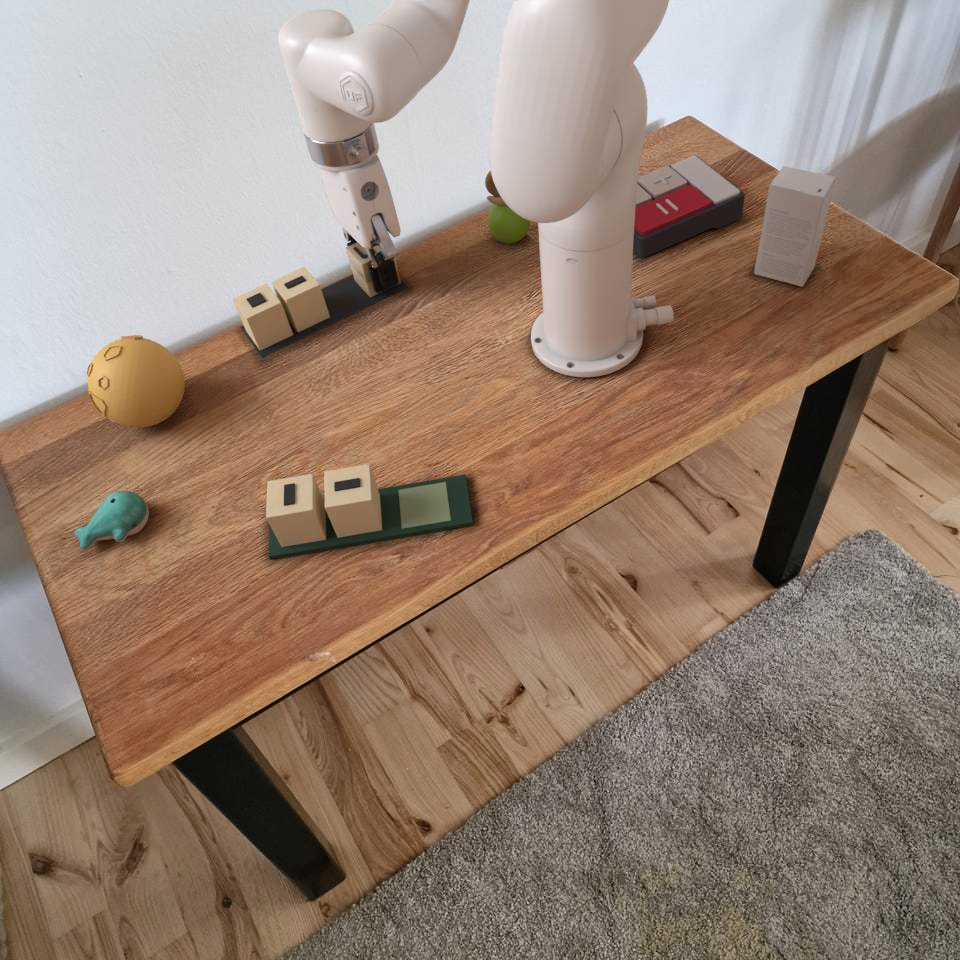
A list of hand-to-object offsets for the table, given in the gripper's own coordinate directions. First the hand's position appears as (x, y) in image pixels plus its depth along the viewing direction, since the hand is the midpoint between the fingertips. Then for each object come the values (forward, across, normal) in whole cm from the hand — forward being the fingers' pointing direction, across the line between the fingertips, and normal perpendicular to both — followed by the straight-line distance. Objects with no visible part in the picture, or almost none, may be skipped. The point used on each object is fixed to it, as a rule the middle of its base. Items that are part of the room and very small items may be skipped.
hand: (375, 275), depth 103 cm
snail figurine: (+2, -3, -18) cm, 19 cm away
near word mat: (+2, -32, +18) cm, 36 cm away
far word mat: (+2, 0, +8) cm, 8 cm away
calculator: (+2, -13, -36) cm, 38 cm away
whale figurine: (+2, -17, +40) cm, 43 cm away
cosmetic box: (+2, -30, -39) cm, 49 cm away
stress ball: (+2, -3, +31) cm, 31 cm away
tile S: (+1, 0, 0) cm, 1 cm away
